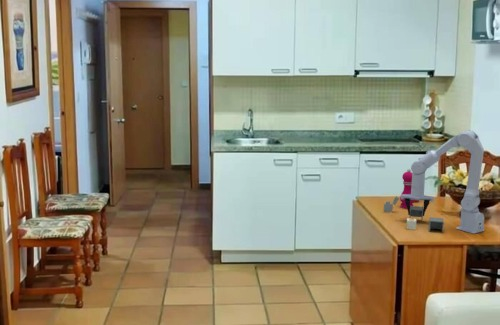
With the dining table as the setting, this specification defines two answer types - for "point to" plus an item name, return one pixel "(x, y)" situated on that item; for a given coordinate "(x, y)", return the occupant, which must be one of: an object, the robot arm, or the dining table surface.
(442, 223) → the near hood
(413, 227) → the cube
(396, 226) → the dining table surface
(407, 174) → the pepper mill
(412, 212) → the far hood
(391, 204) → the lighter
